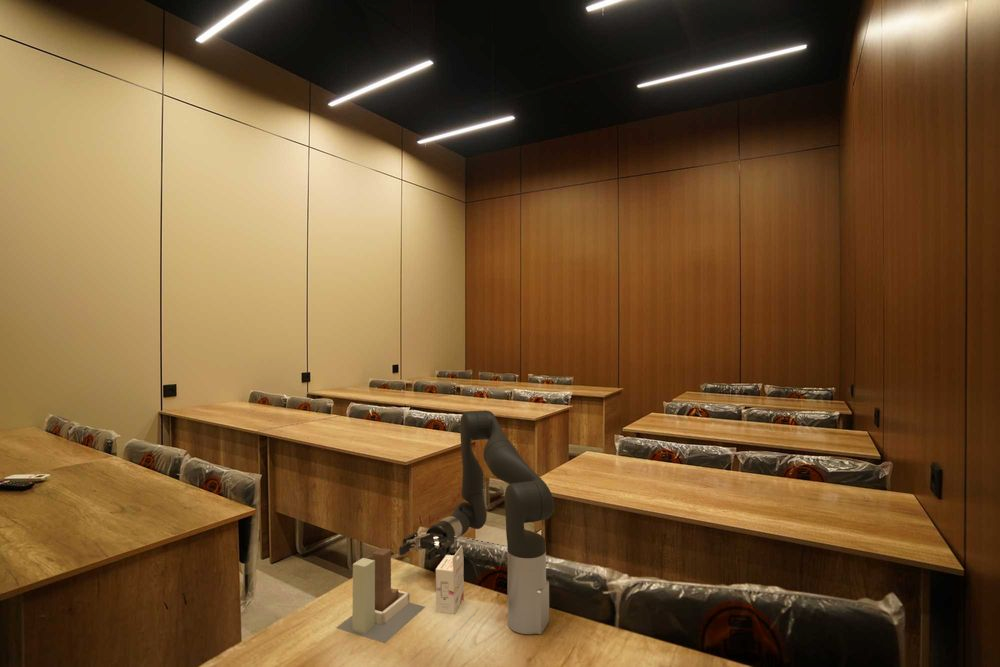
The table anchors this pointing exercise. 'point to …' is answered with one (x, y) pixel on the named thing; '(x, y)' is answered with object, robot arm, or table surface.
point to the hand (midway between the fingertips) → (413, 554)
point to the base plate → (388, 619)
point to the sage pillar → (363, 595)
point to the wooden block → (383, 580)
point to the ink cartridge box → (450, 583)
